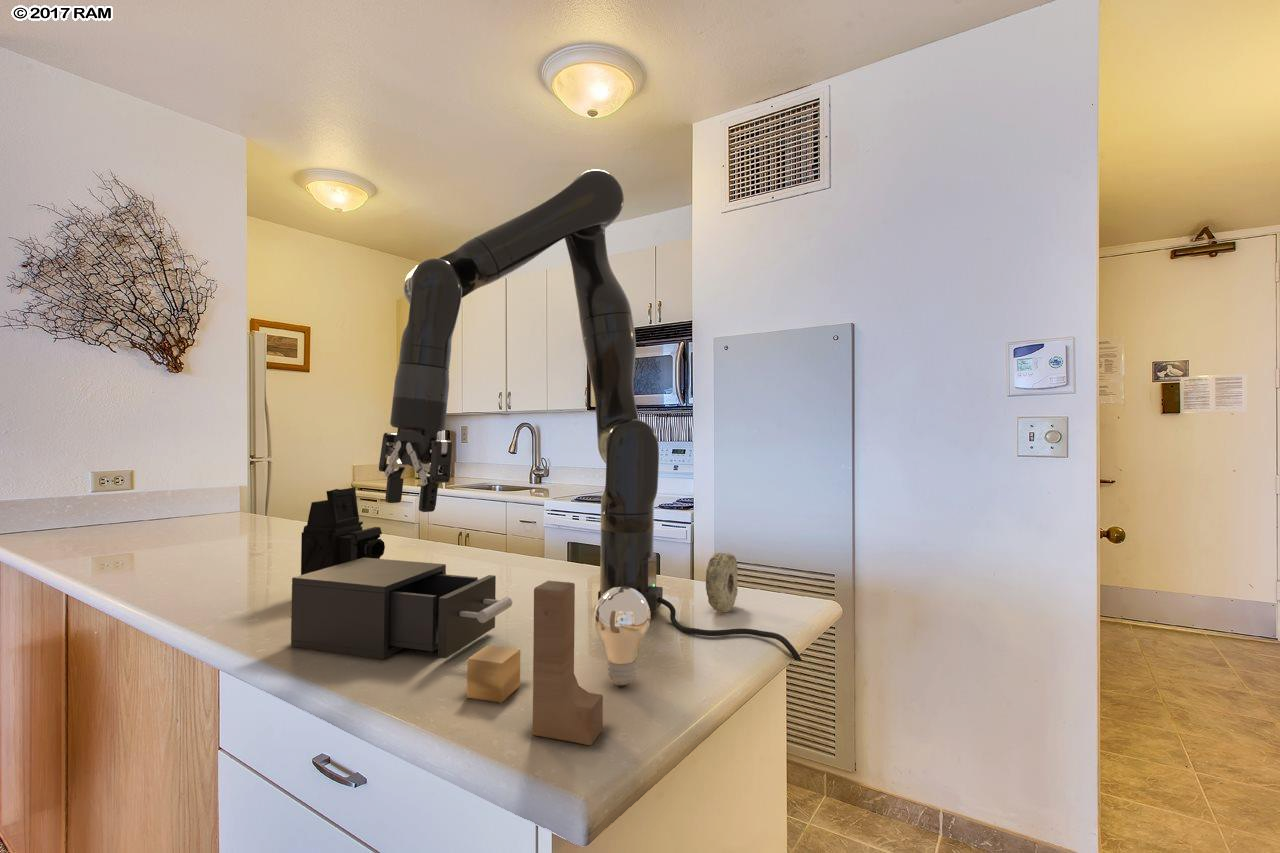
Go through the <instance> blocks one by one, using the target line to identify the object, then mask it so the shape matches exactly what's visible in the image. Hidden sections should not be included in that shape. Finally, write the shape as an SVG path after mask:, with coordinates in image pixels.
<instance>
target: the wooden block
mask: <svg viewBox="0 0 1280 853" xmlns="http://www.w3.org/2000/svg"><path fill="white" fill-rule="evenodd" d="M575 585H576V584H575V583H574V582H568V581H558V580H546V581H545V582H542V583H541V584H539V585H537V586H535V587H534V589H533V651H532V652H533V655H532V656H533V658H532V662H533V663H532V664H533V665H532V678H533V679H532V731H531V732H532V736H537V737H542V738H549V739H554V740H560V741H565V742H571V743H577V744H580V745H586V746H592V745H593V744H594V742H595V741H596V740H597V739H598V737H599V735H600V734H601V733H602V731H603V728H604V723H603V722H604V695H603V694H600V693H594V692H589V691H587V690H586V689H584V688H583V687H581V686H580V685H579V682H578V680H577V678H576V675H575V619H576V618H575V616H576V614H575V612H576V611H575V610H576V609H575V606H576V605H575V604H576V603H575V602H576V598H575V597H576V596H575V595H576V586H575Z"/></svg>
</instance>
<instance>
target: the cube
mask: <svg viewBox="0 0 1280 853" xmlns="http://www.w3.org/2000/svg"><path fill="white" fill-rule="evenodd" d="M466 665H467V668H466V669H467V670H466V698H468V699H474V700H481V701H489V702H494V703H500V704H501V703H503V702H504V701H506V699H508V697H509V696H510V695H511V694H513V693H514V692H515V691H516V690H517V689H518V688H519V687H520V686H521V649H520V648H516V647H515V648H513V647H508V646H507V647H506V646H499V645H491V644H487V645H485V646H484V647H482V649H480V650H478V651H476V652H475V653H474V654H472V655H471V656H470V657H468V658H467V664H466Z"/></svg>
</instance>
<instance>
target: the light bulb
mask: <svg viewBox="0 0 1280 853" xmlns="http://www.w3.org/2000/svg"><path fill="white" fill-rule="evenodd" d="M651 615H652V613H651V614H650V609H649V605H648V603H647V601H646V599H645V598H644V596H643V595H642V594H641V593H640V592H638V591H637V590H635V589H633V588H631V587H627V586H618V587H614V588H612V589H610V590H608V591H607V592H605V593H604V594H603V595H602V596H601V598H600V599H599V601H598V600H597V603H596V604H595V607H594V612H593V622H594V627H595V630H596V632H597V634H598V636H599V637H600V639H601V640H602V643H603V645H604V648H605V654H606V657H607V659H608V662H607V663H608V664H607V665H608V666H607V667H608V668H607V670H608V672H607V673H608V675H607V676H608V678H609V679H610V681H612V682H613V684H615V685H616V686H617V687H618V688H625V687H627V685H628V684H630V683H631V682H632V681H633V680H634V678H635V677H636V659H637V657H638V655H639V654H638V653H639V648H640V645H641V643H642V641H643V639H644V637H645V636H646V634H647V633H648V630H649V628H650V623H651V620H652V616H651Z"/></svg>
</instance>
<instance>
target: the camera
mask: <svg viewBox="0 0 1280 853" xmlns="http://www.w3.org/2000/svg"><path fill="white" fill-rule="evenodd" d="M306 522H307V523H306V525H304V526H303V530H302V532H301V546H300V547H301V549H300V551H301V552H300V575H304V574H307V573H311V572H314V571H318V570H321V569H325V568H328V567H332V566H335V565H339V564H343V563H346V562H350V561H353V560H357V559H360V558H376V559H381V557H382V556H383V555H384V553H385V547H386V545H385V542H384V540H382V539H381V535H382V534H383V532H382V528H381V527H380V526H373V527H370V528H365V529H363V526H362V525H363V524H364V521H360V516H359V507H358V500H357V491H356V486H355V487H349V488H341V489H339V488H334V489H331V490H326V499H325V500H319V501H311V504H310V509H309V513H308V518H307V521H306Z"/></svg>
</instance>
